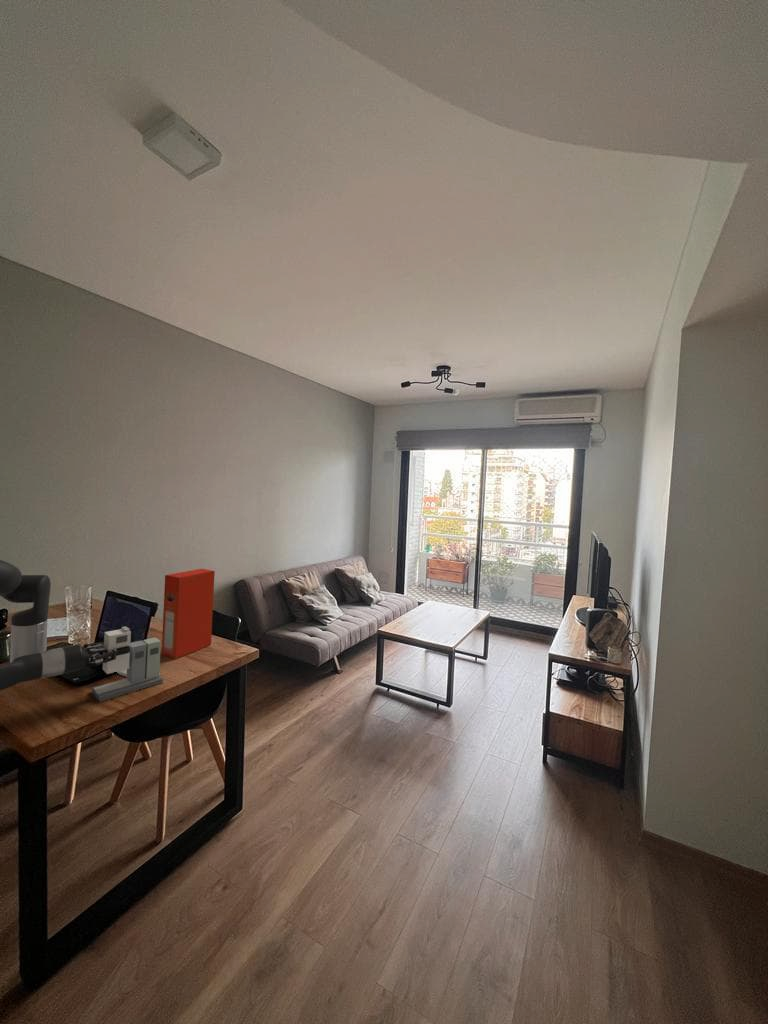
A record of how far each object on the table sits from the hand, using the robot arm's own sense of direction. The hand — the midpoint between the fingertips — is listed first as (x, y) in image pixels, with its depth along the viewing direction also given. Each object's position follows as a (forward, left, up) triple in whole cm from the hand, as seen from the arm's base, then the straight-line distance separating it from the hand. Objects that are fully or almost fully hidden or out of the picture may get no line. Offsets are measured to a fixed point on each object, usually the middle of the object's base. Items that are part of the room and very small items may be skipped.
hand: (126, 646), depth 129 cm
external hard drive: (-12, +6, -15) cm, 20 cm away
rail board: (0, +1, -14) cm, 14 cm away
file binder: (-18, +28, -14) cm, 36 cm away
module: (0, -3, -6) cm, 7 cm away
